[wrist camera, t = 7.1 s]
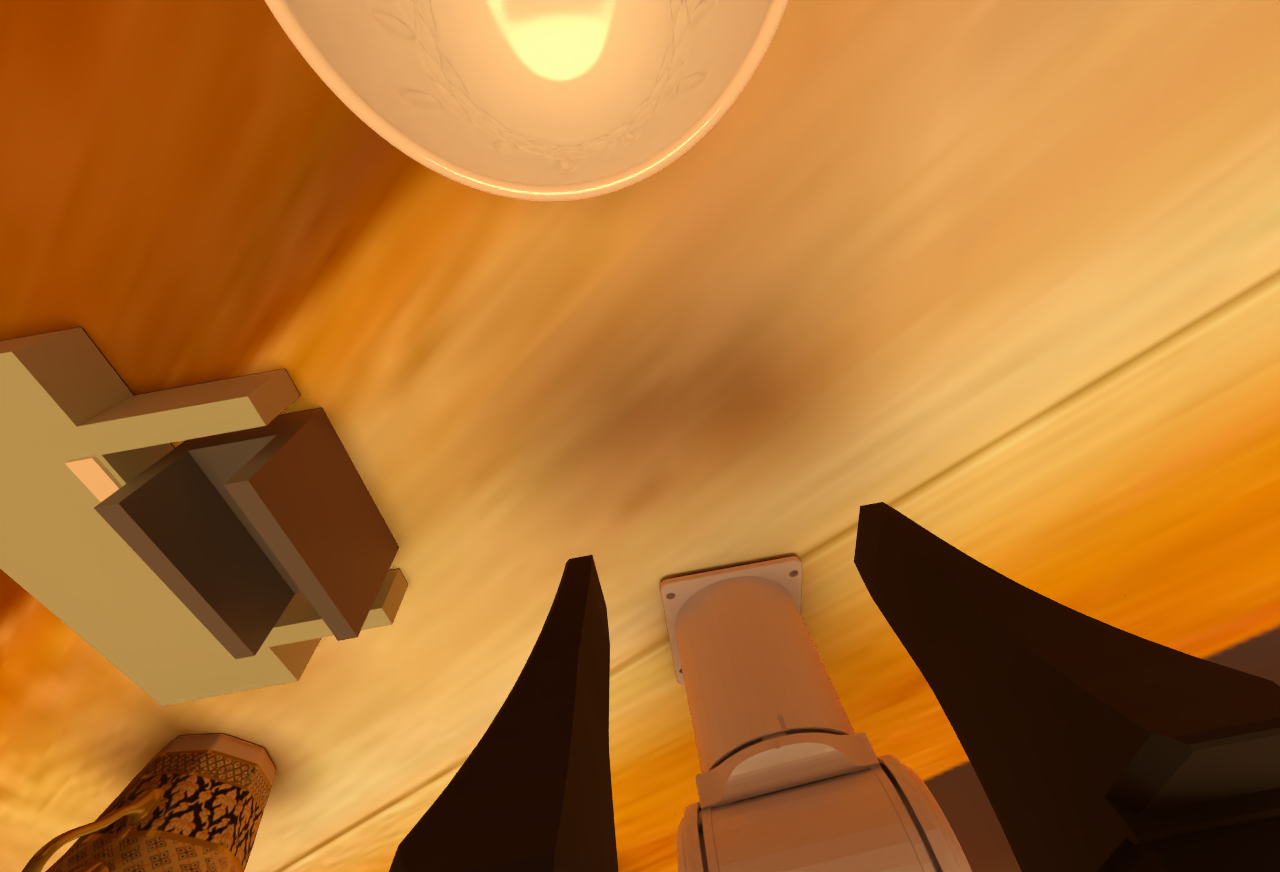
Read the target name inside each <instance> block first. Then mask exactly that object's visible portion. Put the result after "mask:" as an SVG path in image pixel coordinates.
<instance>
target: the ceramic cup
mask: <svg viewBox="0 0 1280 872" xmlns="http://www.w3.org/2000/svg"><path fill="white" fill-rule="evenodd" d="M275 774H276V773H275V766H274V765H273V763H272V761H271V760H270V758H269V756H268V754H267V753H266V751H265V749H264V748H263V747H261V746H258V745H255V744H252V743H249V742H246V741H243V740H240V739H237V738H234V737H231V736H229V735H226V734H222V733H217V734H200V735H182V736H179V737H177V738H176V739H175V740H173V741H172V742H171V743H170V744H168V745H167V746H166V747H165V748H164V749H163V750H162V751H160V752H159V753H158V754H157V755H156V756H155V757H154V758H153V759H152V760H151V761H150V762H149V763H148V764H147V765H146V766H145V767H144V768H143V769H142V770H141V772H140V773H139V774H137V776H136V777H135V778H134V779H133V780H132V781H131V782H130V783H129V785H128V786H127V787H126V788H125V789H124V790H123V791H122V793H121V794H120V795H119V796H118V797H117V798H116V799H115V800H114V801H113V802H112V803H111V804H110V805H109V807H108V808H107V809H106V810H105V811H104V812H103V813H102V814H101V815H100V816H99V817H98V818H97V820H96V821H95V822H92V823H89V824H87V825H84V826H81V827H78V828H75V829H72V830H70V831H68V832H65V833H63V834H61V835H59V836H57V837H56V838H54V839H52V840H51V841H50V842H48V843H47V844H46V845H45V846H43V847H42V848H41V849H40V850H39V851H38V852H37V853H36V854H35V855H34V856H33V857H32V858H31V860H30V861H29V862H28V863H27V865H26V866H25V868H24V869H23V871H22V872H41V870H42V868H43V866H44V865H45V863H46V862H47V861H48V860H49V858H50V857H51V856H52V855H53V854H54V853H55V852H56V851H57V850H58V849H59V848H60V847H62V846H63V845H64V844H66V843H68V842H70V841H72V840H74V839H76V838H79V837H80V838H79V839H78V840H77V841H76V842H75V843H74V844H73V846H72V847H71V848H70V849H69V850H68V851H67V852H66V853H65V854H64V855H63V856H62V857H61V858H60V859H59V860H58V861H57V862H56V863H54V864H53V865H52V866H51V867H50V868H49V869H48V870H47V871H46V872H244V870H245V867H246V864H247V862H248V859H249V856H250V853H251V850H252V847H253V844H254V841H255V837H256V834H257V831H258V828H259V825H260V821H261V818H262V815H263V811H264V808H265V805H266V802H267V800H268V797H269V794H270V791H271V787H272V783H273V780H274V777H275Z"/></svg>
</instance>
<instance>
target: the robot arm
mask: <svg viewBox="0 0 1280 872" xmlns="http://www.w3.org/2000/svg"><path fill="white" fill-rule="evenodd" d="M854 563H855V565H856V567H857V569H858V571H859V573H860V575H861V577H862V579H863V581H864V583H865V585H866V587H867V589H868V591H869V593H870V595H871V597H872V598H873V600H874V601H875V603H876V605H877V606H878V608H879V609H880V611H881V612H882V614H883V615H884V617H885V618H886V620H887V621H888V623H889V624H890V626H891V627H892V629H893V630H894V632H895V633H896V635H897V636H898V638H899V639H900V641H901V642H902V644H903V645H904V647H905V648H906V650H907V651H908V653H909V654H910V656H911V657H912V659H913V660H914V662H915V663H916V665H917V666H918V668H919V669H920V671H921V672H922V674H923V676H924V677H925V679H926V680H927V682H928V684H929V685H930V687H931V689H932V690H933V692H934V694H935V696H936V697H937V699H938V701H939V703H940V705H941V707H942V709H943V710H944V712H945V714H946V716H947V718H948V720H949V722H950V723H951V725H952V727H953V729H954V731H955V733H956V735H957V737H958V739H959V741H960V743H961V745H962V746H963V748H964V750H965V752H966V754H967V756H968V758H969V760H970V762H971V764H972V766H973V768H974V770H975V772H976V774H977V776H978V778H979V780H980V782H981V784H982V786H983V788H984V791H985V793H986V795H987V797H988V798H989V801H990V803H991V805H992V807H993V809H994V811H995V813H996V815H997V818H998V820H999V822H1000V824H1001V826H1002V828H1003V831H1004V833H1005V835H1006V837H1007V840H1008V842H1009V844H1010V846H1011V849H1012V851H1013V853H1014V855H1015V857H1016V860H1017V862H1018V864H1019V866H1020V869H1021V870H1022V872H1280V686H1278V685H1277V684H1276V683H1274V682H1273V681H1270V680H1267V679H1264V678H1261V677H1257V676H1254V675H1251V674H1248V673H1245V672H1242V671H1238V670H1235V669H1232V668H1229V667H1226V666H1222V665H1219V664H1216V663H1213V662H1210V661H1206V660H1203V659H1200V658H1197V657H1194V656H1191V655H1188V654H1185V653H1183V652H1180V651H1177V650H1174V649H1171V648H1169V647H1166V646H1163V645H1160V644H1157V643H1155V642H1152V641H1149V640H1146V639H1144V638H1141V637H1138V636H1136V635H1133V634H1131V633H1128V632H1125V631H1123V630H1120V629H1118V628H1115V627H1113V626H1111V625H1108V624H1106V623H1103V622H1101V621H1099V620H1096V619H1094V618H1091V617H1089V616H1087V615H1084V614H1082V613H1080V612H1077V611H1075V610H1073V609H1071V608H1068V607H1066V606H1064V605H1062V604H1059V603H1057V602H1055V601H1053V600H1051V599H1049V598H1047V597H1045V596H1043V595H1041V594H1039V593H1037V592H1035V591H1033V590H1030V589H1028V588H1026V587H1024V586H1022V585H1020V584H1019V583H1017V582H1015V581H1013V580H1011V579H1009V578H1007V577H1005V576H1004V575H1002V574H1000V573H998V572H996V571H994V570H993V569H991V568H989V567H987V566H985V565H984V564H982V563H980V562H978V561H977V560H975V559H973V558H972V557H970V556H968V555H966V554H965V553H963V552H961V551H960V550H958V549H956V548H955V547H953V546H952V545H950V544H948V543H947V542H945V541H943V540H942V539H940V538H939V537H937V536H935V535H934V534H932V533H931V532H929V531H928V530H926V529H925V528H923V527H921V526H920V525H918V524H917V523H915V522H914V521H912V520H911V519H909V518H907V517H906V516H904V515H903V514H901V513H900V512H898V511H897V510H895V509H893V508H892V507H890V506H889V505H887V504H885V503H884V502H880V503H875V504H869V505H864V506H860V513H859V522H858V530H857V539H856V548H855V557H854ZM791 571H792V572H791ZM801 587H802V562H801V561H800V559H799V558H798V557H795V556H791V557H786V558H780V559H775V560H769V561H764V562H758V563H753V564H747V565H742V566H737V567H731V568H726V569H720V570H715V571H709V572H704V573H698V574H693V575H687V576H682V577H676V578H671V579H666V580H664V581H663V582H661V584H660V590H661V596H662V601H663V607H664V612H665V618H666V623H667V629H668V634H669V639H670V645H671V650H672V656H673V661H674V667H675V672H676V678H677V682H678V683H680V684H685V687H686V692H687V697H688V703H689V708H690V713H691V719H692V724H693V729H694V734H695V740H696V745H697V750H698V755H699V761H700V766H701V771H702V773H701V774H698V775H696V783H697V789H698V794H699V800H700V803H699V802H698V803H694V804H690V805H688V806H687V807H686V808H685V811H684V816H683V818H682V820H681V822H680V824H679V827H678V830H677V859H678V870H679V872H972V870H971V868H970V866H969V863H968V861H967V859H966V857H965V855H964V853H963V851H962V848H961V846H960V844H959V842H958V840H957V838H956V836H955V834H954V832H953V831H952V828H951V827H950V825H949V823H948V821H947V819H946V817H945V816H944V814H943V812H942V810H941V809H940V807H939V805H938V803H937V802H936V800H935V799H934V797H933V795H932V794H931V792H930V791H929V789H928V788H927V786H926V785H925V784H924V782H923V781H922V780H921V778H920V777H919V776H918V775H917V774H916V773H915V772H914V771H913V770H912V769H910V768H909V767H907V766H906V765H904V764H902V763H901V762H900V761H899V760H898V759H897V758H895V757H894V756H892V755H884V756H880V757H877V756H876V754H875V752H874V750H873V748H872V746H871V744H870V742H869V740H868V738H867V736H866V734H865V733H858V734H855V732H854V730H853V728H852V725H851V723H850V721H849V719H848V717H847V715H846V713H845V710H844V708H843V706H842V704H841V702H840V700H839V698H838V695H837V693H836V691H835V689H834V687H833V685H832V682H831V680H830V678H829V676H828V674H827V672H826V670H825V667H824V665H823V663H822V661H821V659H820V657H819V655H818V652H817V650H816V648H815V646H814V644H813V642H812V640H811V637H810V635H809V633H808V631H807V629H806V627H805V624H804V622H803V620H802V618H801V616H800V614H801ZM669 593H671V594H669ZM609 671H610V641H609V630H608V619H607V608H606V604H605V600H604V596H603V593H602V589H601V585H600V582H599V578H598V574H597V571H596V567H595V563H594V560H593V556H592V555H589V556H583V557H578V558H572V559H569V560H568V561H567V562H566V565H565V569H564V572H563V576H562V579H561V582H560V585H559V588H558V591H557V593H556V596H555V599H554V602H553V604H552V607H551V609H550V612H549V614H548V616H547V619H546V621H545V624H544V626H543V629H542V631H541V633H540V635H539V637H538V640H537V642H536V644H535V646H534V648H533V650H532V652H531V654H530V656H529V658H528V660H527V662H526V664H525V666H524V668H523V670H522V672H521V674H520V676H519V678H518V680H517V681H516V683H515V685H514V687H513V689H512V690H511V692H510V694H509V695H508V697H507V699H506V701H505V702H504V704H503V706H502V707H501V709H500V710H499V712H498V714H497V715H496V717H495V718H494V720H493V722H492V723H491V725H490V726H489V728H488V730H487V731H486V733H485V734H484V736H483V737H482V739H481V740H480V742H479V743H478V744H477V746H476V747H475V749H474V750H473V751H472V753H471V754H470V756H469V757H468V758H467V760H466V761H465V762H464V764H463V765H462V767H461V768H460V769H459V771H458V772H457V773H456V775H455V776H454V778H453V779H452V780H451V782H450V783H449V784H448V786H447V787H446V788H445V790H444V791H443V792H442V793H441V795H440V796H439V797H438V798H437V800H436V801H435V802H434V803H433V805H432V806H431V807H430V808H429V809H428V811H427V812H426V813H425V814H424V815H423V817H422V818H421V819H420V820H419V822H418V823H417V824H416V825H415V826H414V828H413V829H412V830H411V831H410V832H409V834H408V835H407V836H406V837H405V838H404V840H403V841H402V842H401V843H400V844H399V846H398V849H397V851H396V854H395V857H394V859H393V862H392V865H391V868H390V870H389V872H618V861H617V850H616V838H615V826H614V813H613V800H612V787H611V773H610V759H609Z"/></svg>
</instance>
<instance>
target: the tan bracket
mask: <svg viewBox="0 0 1280 872" xmlns="http://www.w3.org/2000/svg"><path fill="white" fill-rule="evenodd" d="M298 397H300V394H299V392H298V391H297V389H296V387H295V385H294V384H293V382H292V380H291V378H290V377H289V375H288V373H287V371H286V370H285V369H281V370H275V371H269V372H264V373H258V374H252V375H247V376H241V377H235V378H230V379H224V380H218V381H213V382H207V383H201V384H196V385H190V386H184V387H179V388H173V389H167V390H162V391H156V392H150V393H145V394H139V395H133V394H132V393H131V391H130V390H129V389H128V388H127V386H126V385H125V384H124V382H123V381H122V380H121V379H120V377H119V376H118V375H117V373H116V372H115V371H114V369H113V368H112V367H111V366H110V364H109V363H108V362H107V360H106V359H105V358H104V356H103V355H102V354H101V353H100V351H99V350H98V349H97V347H96V346H95V345H94V343H93V342H92V341H91V340H90V338H89V337H88V336H87V334H86V333H85V332H84V330H83V329H82V328H81V327H78V328H73V329H67V330H61V331H55V332H50V333H44V334H38V335H33V336H27V337H21V338H15V339H10V340H4V341H0V569H2V570H3V571H4V572H5V573H6V574H7V575H9V576H10V577H11V578H12V579H13V580H14V581H16V582H17V583H18V584H19V585H20V586H22V587H23V588H24V589H25V590H26V591H27V592H29V593H30V594H31V595H32V596H33V597H34V598H36V599H37V600H38V601H39V602H40V603H41V604H43V605H44V606H45V607H46V608H47V609H48V610H50V611H51V612H52V613H53V614H54V615H55V616H57V617H58V618H59V619H60V620H61V621H62V622H64V623H65V624H66V625H67V626H68V627H70V628H71V629H72V630H73V631H74V632H75V633H77V634H78V635H79V636H80V637H81V638H82V639H84V640H85V641H86V642H87V643H88V644H89V645H91V646H92V647H93V648H94V649H95V650H96V651H98V652H99V653H100V654H101V655H102V656H103V657H105V658H106V659H107V660H108V661H109V662H110V663H112V664H113V665H114V666H115V667H116V668H118V669H119V670H120V671H121V672H122V673H123V674H125V675H126V676H127V677H128V678H129V679H130V680H132V681H133V682H134V683H135V684H136V685H137V686H139V687H140V688H141V689H142V690H143V691H144V692H146V693H147V694H148V695H149V696H150V697H151V698H153V699H154V700H155V701H156V702H157V703H159V704H160V705H161V706H166V705H171V704H177V703H182V702H188V701H193V700H198V699H204V698H209V697H215V696H220V695H226V694H231V693H237V692H242V691H248V690H253V689H258V688H264V687H269V686H275V685H280V684H286V683H291V682H297V681H299V679H300V677H301V675H302V673H303V671H304V670H305V668H306V666H307V664H308V662H309V660H310V658H311V656H312V655H313V653H314V651H315V649H316V647H317V645H318V643H319V642H320V640H321V638H322V637H327V636H332V635H334V634H333V633H332V632H331V630H330V629H329V628H328V626H327V625H326V624H325V622H324V621H323V620H322V618H321V617H320V615H319V614H318V613H317V611H316V610H315V609H314V607H313V606H312V605H311V603H310V602H309V600H308V599H307V598H306V596H305V595H304V594H303V593H299V594H295V595H294V596H293V598H292V600H291V601H290V603H289V604H288V606H287V607H286V609H285V610H284V612H283V613H282V615H281V617H280V618H279V620H278V621H277V623H276V624H275V626H274V627H273V629H272V630H271V632H270V634H269V635H268V637H267V638H266V640H265V641H264V643H263V644H262V646H261V647H260V649H259V650H258V652H257V654H256V655H255V656H251V657H246V658H240V659H235V658H234V657H233V656H232V655H231V654H230V653H229V652H228V651H227V650H226V649H225V648H224V647H223V645H222V644H221V643H220V642H219V641H218V640H217V639H216V638H215V637H214V636H213V635H212V634H211V633H210V632H209V631H208V629H207V628H206V627H205V626H204V625H203V624H202V623H201V622H200V621H199V620H198V619H197V618H196V617H195V616H194V615H193V614H192V612H191V611H190V610H189V609H188V608H187V607H186V606H185V605H184V604H183V603H182V602H181V601H180V600H179V599H178V598H177V596H176V595H175V594H174V593H173V592H172V591H171V590H170V589H169V588H168V587H167V586H166V585H165V584H164V583H163V582H162V580H161V579H160V578H159V577H158V576H157V575H156V574H155V573H154V572H153V571H152V570H151V569H150V568H149V567H148V566H147V564H146V563H145V562H144V561H143V560H142V559H141V558H140V557H139V556H138V555H137V554H136V553H135V552H134V551H133V550H132V548H131V547H130V546H129V545H128V544H127V543H126V542H125V541H124V540H123V539H122V538H121V537H120V536H119V535H118V534H117V532H116V531H115V530H114V529H113V528H112V527H111V526H110V525H109V524H108V523H107V522H106V521H105V520H104V519H103V518H102V516H101V515H100V514H99V513H98V512H97V511H96V510H95V509H94V507H95V506H97V505H98V504H99V503H101V502H102V501H104V500H105V499H106V498H108V497H109V496H110V495H112V494H113V493H114V492H116V491H117V490H119V489H120V488H121V487H123V486H124V485H125V484H127V483H128V482H130V481H131V480H132V479H134V478H135V477H136V476H138V475H139V474H140V473H142V472H143V471H145V470H146V469H147V468H149V467H150V466H151V465H153V464H154V463H156V462H157V461H158V460H160V459H161V458H162V457H164V456H165V455H166V454H168V453H169V452H171V451H172V450H173V449H174V447H173V446H172V445H171V442H177V441H183V440H188V439H194V438H200V437H205V436H211V435H216V434H222V433H228V432H233V431H239V430H245V429H250V428H256V427H262V426H266V425H267V424H269V423H270V422H271V421H272V420H273V419H274V418H275V417H277V416H278V415H279V414H280V413H281V412H282V411H284V410H285V409H286V408H287V407H288V406H289V405H290V404H292V403H293V402H294V401H295V400H296V399H297V398H298ZM407 587H408V583H407V582H406V580H405V578H404V576H403V575H402V573H401V571H400V569H395V570H389V571H388V572H387V575H386V577H385V579H384V581H383V583H382V585H381V587H380V590H379V592H378V594H377V596H376V598H375V600H374V603H373V605H372V607H371V609H370V611H369V613H368V616H367V618H366V620H365V622H364V624H363V626H362V629H361V630H365V629H371V628H376V627H382V626H387V625H392V624H393V621H394V619H395V616H396V614H397V611H398V609H399V606H400V604H401V601H402V599H403V597H404V594H405V592H406V589H407Z"/></svg>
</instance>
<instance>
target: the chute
mask: <svg viewBox="0 0 1280 872" xmlns="http://www.w3.org/2000/svg"><path fill="white" fill-rule="evenodd" d="M94 509H95V510H96V511H97V512H98V513H99V514H100V515H101V516H102V518H103V519H104V520H105V521H106V522H107V523H108V524H109V525H110V526H111V527H112V528H113V529H114V530H115V531H116V532H117V534H118V535H119V536H120V537H121V538H122V539H123V540H124V541H125V542H126V543H127V544H128V545H129V546H130V547H131V548H132V550H133V551H134V552H135V553H136V554H137V555H138V556H139V557H140V558H141V559H142V560H143V561H144V562H145V563H146V564H147V566H148V567H149V568H150V569H151V570H152V571H153V572H154V573H155V574H156V575H157V576H158V577H159V578H160V579H161V580H162V582H163V583H164V584H165V585H166V586H167V587H168V588H169V589H170V590H171V591H172V592H173V593H174V594H175V595H176V596H177V598H178V599H179V600H180V601H181V602H182V603H183V604H184V605H185V606H186V607H187V608H188V609H189V610H190V611H191V612H192V614H193V615H194V616H195V617H196V618H197V619H198V620H199V621H200V622H201V623H202V624H203V625H204V626H205V627H206V628H207V629H208V631H209V632H210V633H211V634H212V635H213V636H214V637H215V638H216V639H217V640H218V641H219V642H220V643H221V644H222V645H223V647H224V648H225V649H226V650H227V651H228V652H229V653H230V654H231V655H232V656H233V657H234V658H235V659H240V658H246V657H251V656H255V655H256V654H257V652H258V650H259V649H260V647H261V646H262V644H263V643H264V641H265V640H266V638H267V637H268V635H269V634H270V632H271V630H272V629H273V627H274V626H275V624H276V623H277V621H278V620H279V618H280V617H281V615H282V613H283V612H284V610H285V609H286V607H287V606H288V604H289V603H290V601H291V600H292V598H293V596H294V595H295V594H299V593H303V594H304V595H305V596H306V598H307V599H308V600H309V602H310V603H311V605H312V606H313V607H314V609H315V610H316V611H317V613H318V614H319V615H320V617H321V618H322V620H323V621H324V622H325V624H326V625H327V626H328V628H329V629H330V630H331V632H332V633H333V634H334V636H335V637H336V639H337V640H338V641H339V640H345V639H350V638H356V637H358V635H359V633H360V631H361V629H362V626H363V624H364V622H365V620H366V618H367V616H368V613H369V611H370V609H371V607H372V605H373V603H374V600H375V598H376V596H377V594H378V592H379V590H380V587H381V585H382V583H383V581H384V579H385V577H386V575H387V572H388V570H389V568H390V566H391V564H392V562H393V559H394V557H395V555H396V553H397V551H398V549H399V546H398V545H397V543H396V541H395V539H394V537H393V536H392V534H391V532H390V530H389V528H388V526H387V525H386V523H385V521H384V519H383V517H382V515H381V514H380V512H379V510H378V508H377V506H376V505H375V503H374V501H373V499H372V497H371V495H370V494H369V492H368V490H367V488H366V486H365V485H364V483H363V481H362V479H361V477H360V475H359V474H358V472H357V470H356V468H355V466H354V464H353V463H352V461H351V459H350V457H349V455H348V454H347V452H346V450H345V448H344V446H343V444H342V443H341V441H340V439H339V437H338V435H337V433H336V432H335V430H334V428H333V426H332V424H331V423H330V421H329V419H328V417H327V415H326V413H325V412H324V410H323V408H322V407H321V408H316V409H310V410H304V411H299V412H293V413H287V414H281V415H278V416H277V417H275V418H274V419H273V420H272V421H271V422H270V423H269V424H267V425H266V426H262V427H256V428H250V429H245V430H239V431H233V432H228V433H222V434H216V435H211V436H205V437H200V438H194V439H188V440H186V441H184V442H183V443H182V444H180V445H179V446H177V447H176V448H175V449H173V450H172V451H171V452H169V453H168V454H166V455H165V456H164V457H162V458H161V459H160V460H158V461H157V462H156V463H154V464H153V465H151V466H150V467H149V468H147V469H146V470H145V471H143V472H142V473H140V474H139V475H138V476H136V477H135V478H134V479H132V480H131V481H130V482H128V483H127V484H125V485H124V486H123V487H121V488H120V489H119V490H117V491H116V492H114V493H113V494H112V495H110V496H109V497H108V498H106V499H105V500H104V501H102V502H101V503H99V504H98V505H97V506H95V507H94Z"/></svg>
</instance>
